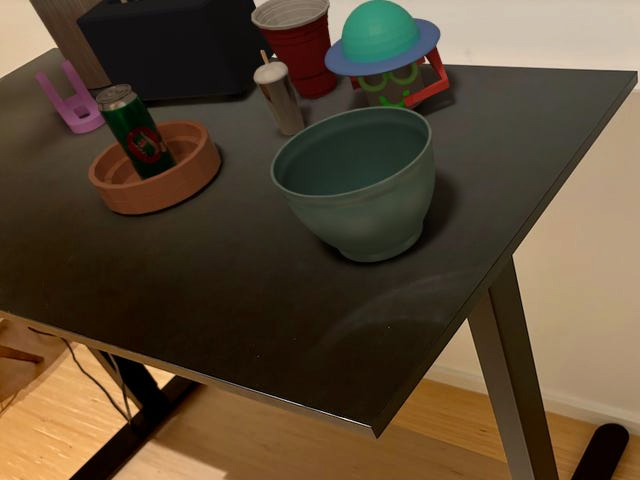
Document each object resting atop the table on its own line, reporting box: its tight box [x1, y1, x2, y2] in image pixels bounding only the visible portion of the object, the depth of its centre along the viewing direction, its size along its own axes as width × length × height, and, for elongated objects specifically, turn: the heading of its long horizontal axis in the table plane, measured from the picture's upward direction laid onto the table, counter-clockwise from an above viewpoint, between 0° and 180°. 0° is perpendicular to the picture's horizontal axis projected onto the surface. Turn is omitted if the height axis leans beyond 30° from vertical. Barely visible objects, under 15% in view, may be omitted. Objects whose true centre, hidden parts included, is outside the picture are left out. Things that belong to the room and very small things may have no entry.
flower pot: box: [269, 106, 436, 263], centre depth 74 cm, size 16×16×11 cm
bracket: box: [33, 60, 106, 134], centre depth 113 cm, size 13×6×7 cm, turn 37°
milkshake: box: [253, 50, 306, 137], centre depth 96 cm, size 4×5×10 cm
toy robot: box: [325, 0, 451, 111], centre depth 92 cm, size 15×15×14 cm
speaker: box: [76, 0, 275, 106], centre depth 110 cm, size 22×13×15 cm, turn 77°
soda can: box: [95, 84, 178, 181], centre depth 91 cm, size 5×5×12 cm
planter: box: [28, 0, 113, 90], centre depth 118 cm, size 10×10×23 cm
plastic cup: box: [251, 0, 338, 100], centre depth 102 cm, size 11×11×12 cm
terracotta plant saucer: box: [87, 119, 222, 215], centre depth 94 cm, size 16×16×4 cm
